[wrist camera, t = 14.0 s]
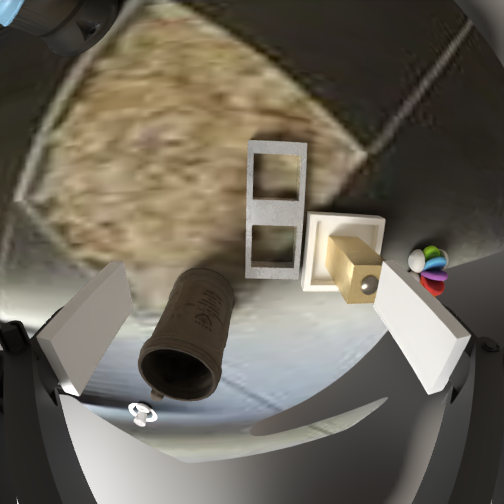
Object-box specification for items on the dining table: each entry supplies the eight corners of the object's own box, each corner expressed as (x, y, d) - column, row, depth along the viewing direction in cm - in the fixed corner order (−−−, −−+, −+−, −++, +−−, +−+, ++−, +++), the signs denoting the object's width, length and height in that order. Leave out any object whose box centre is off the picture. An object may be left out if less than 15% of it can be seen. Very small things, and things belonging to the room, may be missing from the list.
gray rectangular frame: (248, 141, 37) (248, 140, 35) (304, 143, 37) (307, 143, 35) (245, 271, 44) (245, 278, 41) (295, 272, 44) (298, 279, 41)
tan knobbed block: (328, 235, 41) (354, 266, 29) (358, 236, 41) (392, 266, 29) (324, 266, 43) (347, 304, 31) (353, 266, 43) (383, 303, 31)
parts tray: (307, 211, 40) (310, 214, 38) (378, 215, 40) (385, 219, 38) (300, 284, 44) (303, 291, 42) (367, 284, 44) (372, 290, 42)
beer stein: (185, 253, 43) (138, 331, 25) (246, 279, 44) (235, 371, 26) (162, 320, 48) (123, 400, 30) (213, 342, 50) (194, 428, 32)
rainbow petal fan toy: (397, 291, 45) (415, 311, 38) (408, 241, 42) (430, 255, 35) (431, 289, 45) (451, 307, 38) (442, 242, 42) (465, 256, 35)
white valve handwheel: (140, 397, 56) (135, 409, 52) (165, 414, 58) (161, 426, 54) (124, 406, 58) (119, 417, 54) (147, 422, 60) (143, 433, 56)
